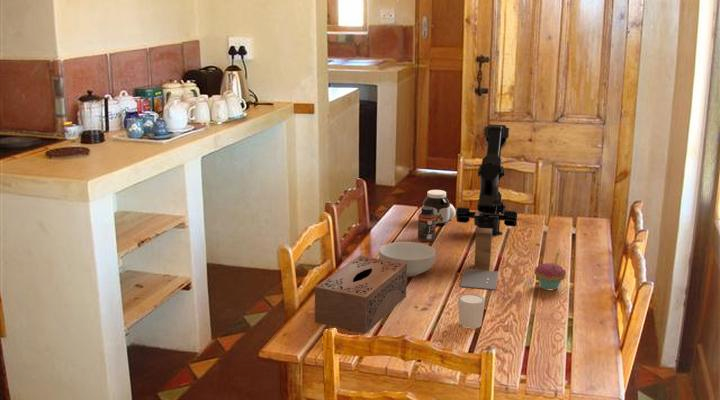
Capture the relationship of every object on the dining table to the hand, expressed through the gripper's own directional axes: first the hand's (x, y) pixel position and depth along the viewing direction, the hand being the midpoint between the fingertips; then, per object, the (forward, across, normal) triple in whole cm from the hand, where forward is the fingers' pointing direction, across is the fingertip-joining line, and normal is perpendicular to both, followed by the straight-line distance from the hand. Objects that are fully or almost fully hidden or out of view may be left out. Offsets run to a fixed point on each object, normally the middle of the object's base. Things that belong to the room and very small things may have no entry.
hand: (484, 240), depth 229 cm
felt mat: (+14, 0, -3) cm, 15 cm away
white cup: (+37, 0, -25) cm, 44 cm away
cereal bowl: (+14, -22, -2) cm, 26 cm away
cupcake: (+16, +20, -4) cm, 26 cm away
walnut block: (+7, 0, +4) cm, 8 cm away
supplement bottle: (-8, -20, +19) cm, 29 cm away
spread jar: (-23, -19, +34) cm, 46 cm away
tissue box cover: (+35, -29, -23) cm, 51 cm away
